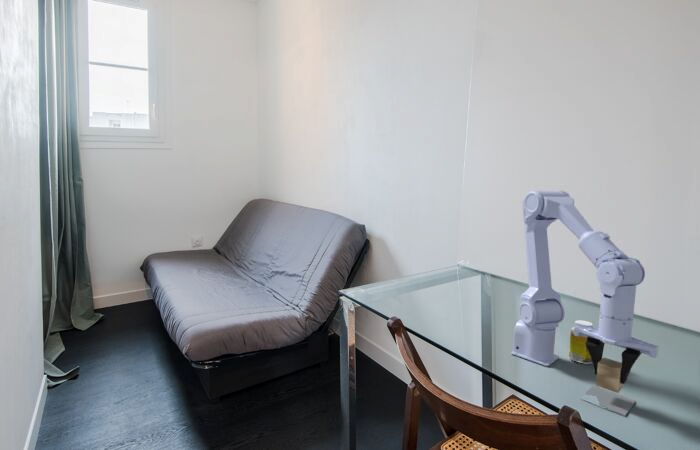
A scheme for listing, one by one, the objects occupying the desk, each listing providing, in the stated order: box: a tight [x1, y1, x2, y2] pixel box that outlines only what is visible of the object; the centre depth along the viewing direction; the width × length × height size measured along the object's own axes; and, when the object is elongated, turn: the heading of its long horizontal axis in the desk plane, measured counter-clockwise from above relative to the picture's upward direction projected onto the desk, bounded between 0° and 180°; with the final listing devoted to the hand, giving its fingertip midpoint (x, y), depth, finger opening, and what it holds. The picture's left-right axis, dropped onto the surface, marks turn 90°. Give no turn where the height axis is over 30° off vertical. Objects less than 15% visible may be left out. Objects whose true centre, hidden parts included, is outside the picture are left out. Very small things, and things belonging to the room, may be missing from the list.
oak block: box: [595, 357, 625, 394], centre depth 81 cm, size 4×4×5 cm
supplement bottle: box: [568, 319, 594, 365], centre depth 100 cm, size 6×6×10 cm
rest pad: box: [584, 385, 637, 417], centre depth 82 cm, size 8×8×1 cm
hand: (610, 377), depth 81 cm, fingers closed on oak block, 4 cm apart
